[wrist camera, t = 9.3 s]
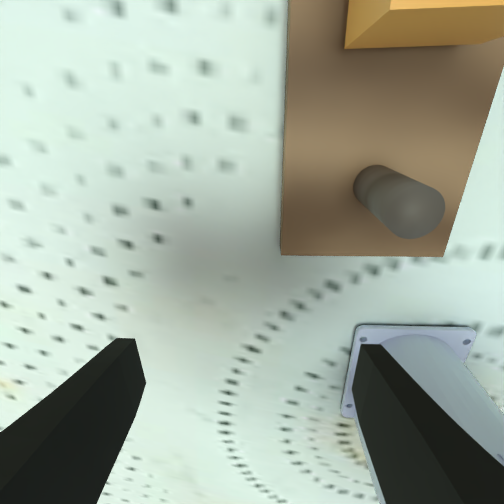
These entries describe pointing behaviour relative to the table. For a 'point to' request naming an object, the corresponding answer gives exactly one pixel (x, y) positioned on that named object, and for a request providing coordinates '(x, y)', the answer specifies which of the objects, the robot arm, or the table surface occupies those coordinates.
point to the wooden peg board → (377, 137)
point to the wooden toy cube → (422, 23)
